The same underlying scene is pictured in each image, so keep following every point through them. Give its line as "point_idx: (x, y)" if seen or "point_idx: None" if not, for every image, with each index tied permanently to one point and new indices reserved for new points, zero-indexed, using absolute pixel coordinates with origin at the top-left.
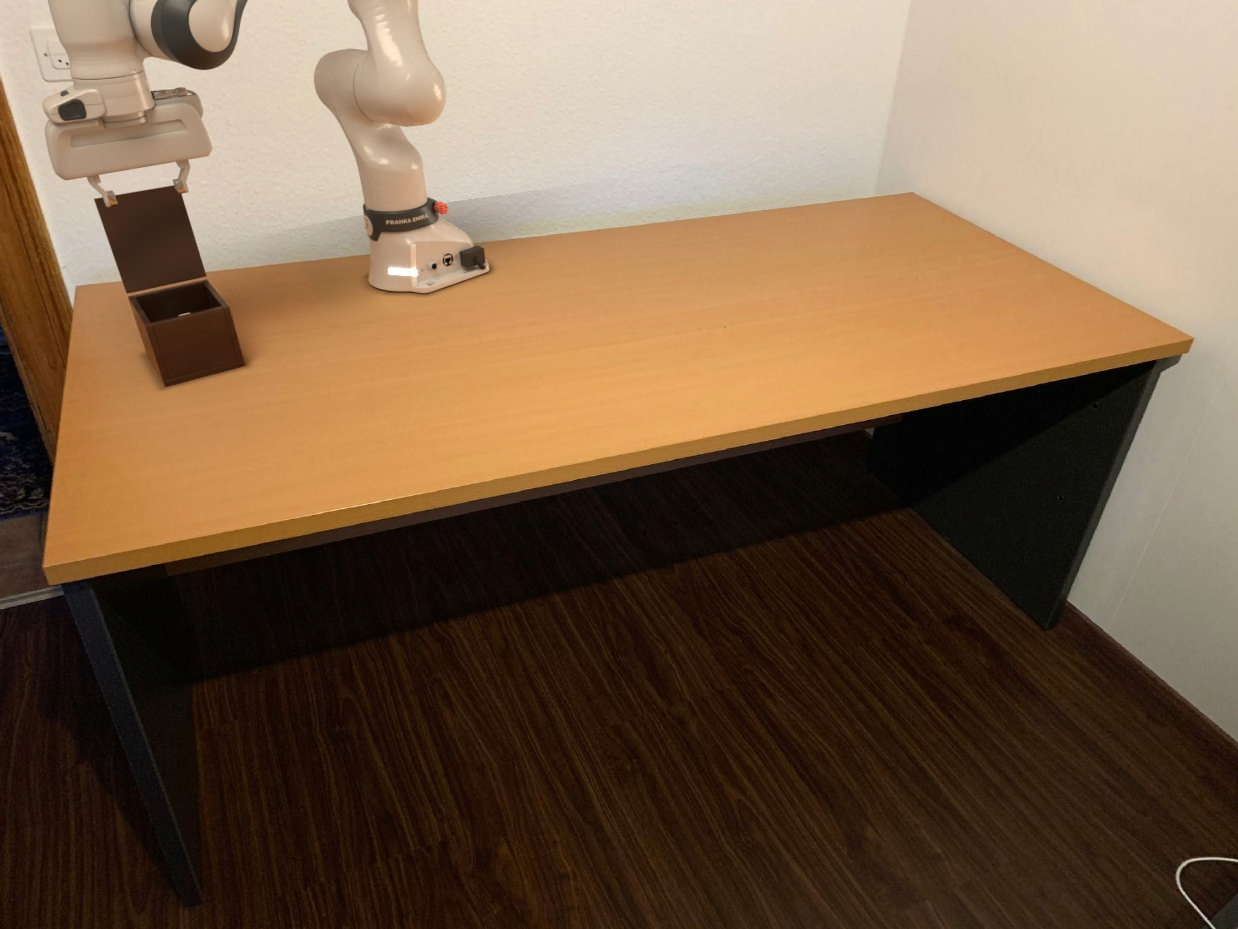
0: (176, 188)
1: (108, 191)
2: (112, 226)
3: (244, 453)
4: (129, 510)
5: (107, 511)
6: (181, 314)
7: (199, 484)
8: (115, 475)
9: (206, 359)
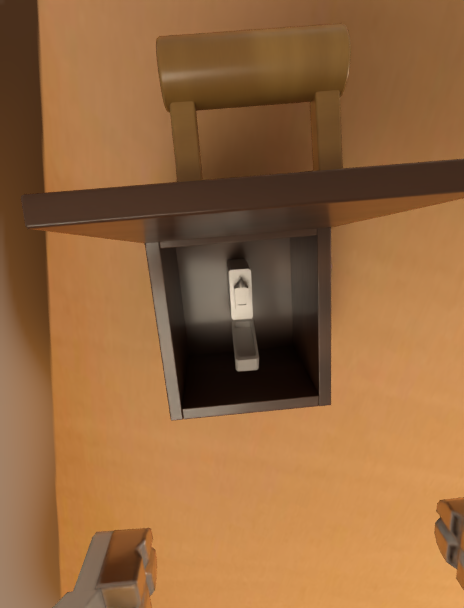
0: (451, 545)
1: (115, 594)
2: (118, 233)
3: (245, 553)
4: None
5: None
6: (241, 359)
7: (193, 584)
8: None
9: None
